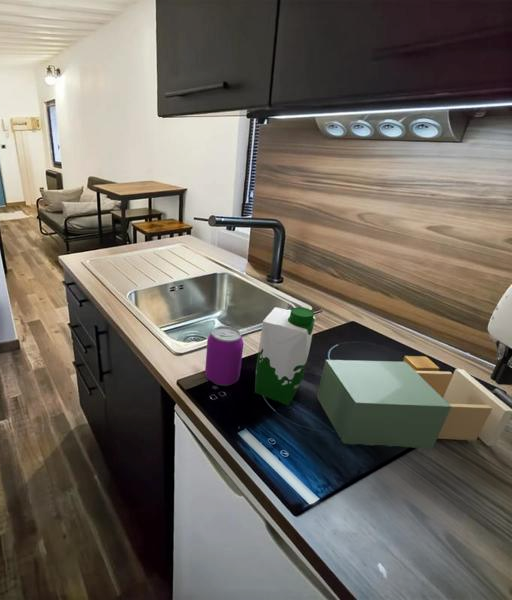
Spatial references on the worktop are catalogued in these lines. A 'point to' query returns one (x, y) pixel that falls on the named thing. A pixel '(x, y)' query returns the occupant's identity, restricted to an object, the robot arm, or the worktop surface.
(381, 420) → the cabinet
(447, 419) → the drawer
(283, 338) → the milk carton
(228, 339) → the beverage can
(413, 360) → the block
